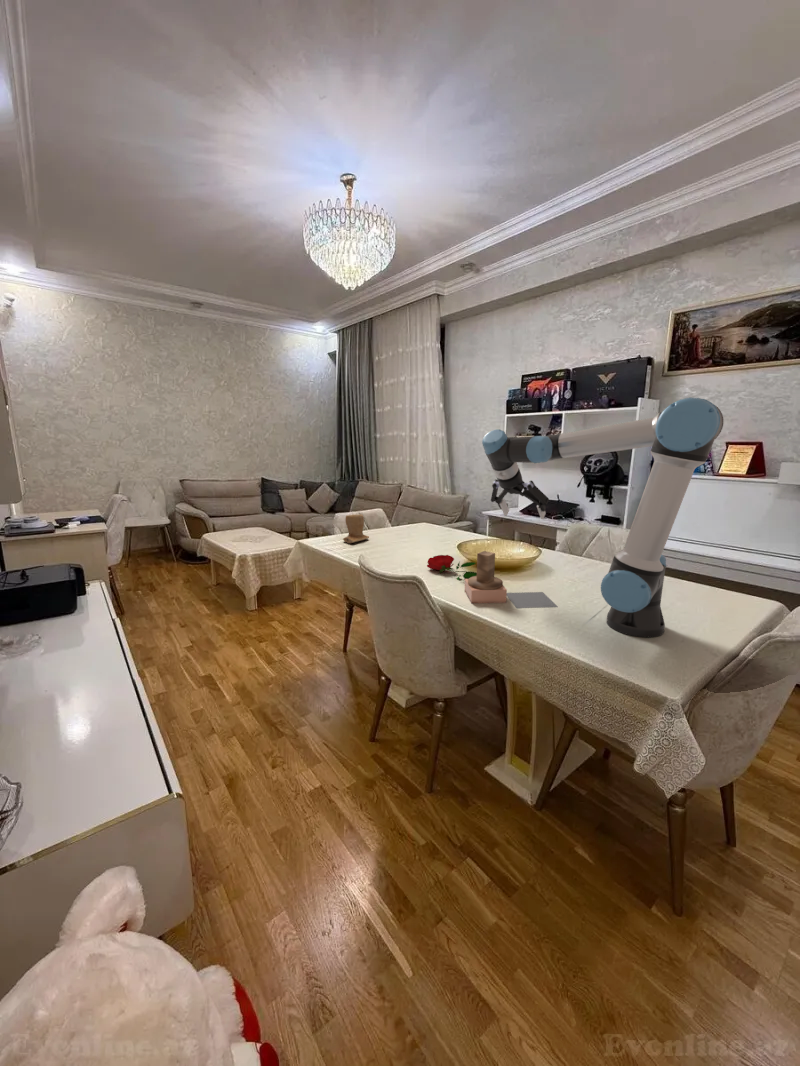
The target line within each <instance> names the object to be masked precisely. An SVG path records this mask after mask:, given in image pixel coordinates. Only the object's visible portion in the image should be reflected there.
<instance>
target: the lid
mask: <svg viewBox="0 0 800 1066" xmlns="http://www.w3.org/2000/svg"><path fill="white" fill-rule="evenodd" d="M476 556H477V558H476V572H477V576H473V577H470V578H469V579H468V585H469V586H470V587H472V588H475V589H480V590H496V589H499V588H501V587H502V586H504V581H503V580H502V579H501V578H499V577H496V576H495V569H496V568H495V565H496V552H491V551H486V550H484V551H480V552H478V553H477V554H476Z"/></svg>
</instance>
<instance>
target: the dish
mask: <svg viewBox="0 0 800 1066" xmlns="http://www.w3.org/2000/svg"><path fill="white" fill-rule="evenodd" d="M507 591H508V589H507V588H506V587H505V585H503V586H502V587H501V588H499V589H496V590H480V589H475V588H472V587H470V586H469V585H468V579H465V578H464V593H465V595H466V597H467V599H468V601H469V602H470V604H502V603H504V604H505V603H507V593H508V592H507Z"/></svg>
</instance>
